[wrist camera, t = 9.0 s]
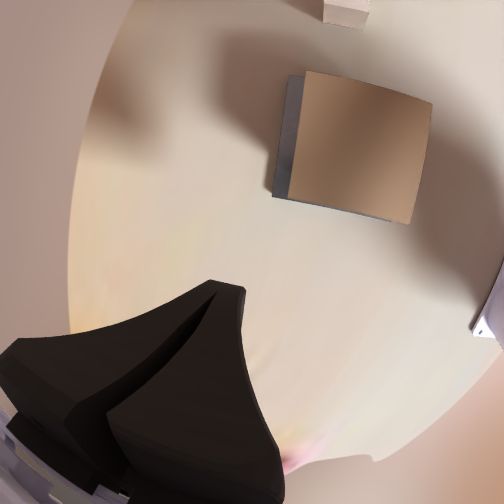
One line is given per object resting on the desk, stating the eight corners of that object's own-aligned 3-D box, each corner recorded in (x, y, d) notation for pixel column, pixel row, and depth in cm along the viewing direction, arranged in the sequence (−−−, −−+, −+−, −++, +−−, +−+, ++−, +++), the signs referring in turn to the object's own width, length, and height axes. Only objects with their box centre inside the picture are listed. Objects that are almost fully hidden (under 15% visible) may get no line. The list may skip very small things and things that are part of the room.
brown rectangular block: (390, 115, 14) (432, 104, 8) (376, 194, 16) (409, 225, 10) (308, 96, 15) (306, 70, 9) (296, 177, 17) (287, 197, 11)
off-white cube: (362, 2, 12) (369, -18, 9) (361, 30, 13) (369, 12, 10) (325, -6, 12) (326, -26, 9) (322, 22, 13) (323, 3, 10)
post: (409, 105, 14) (446, 93, 9) (388, 218, 17) (415, 250, 12) (289, 77, 15) (279, 51, 10) (273, 194, 18) (256, 217, 13)
